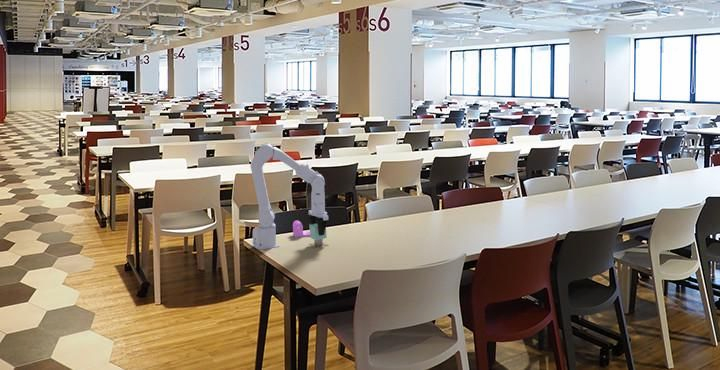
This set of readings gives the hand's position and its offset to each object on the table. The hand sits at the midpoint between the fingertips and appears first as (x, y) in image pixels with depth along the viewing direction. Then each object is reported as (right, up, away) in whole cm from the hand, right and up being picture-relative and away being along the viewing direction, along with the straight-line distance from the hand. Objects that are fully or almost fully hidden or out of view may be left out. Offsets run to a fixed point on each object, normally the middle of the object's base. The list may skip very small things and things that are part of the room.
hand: (318, 233), depth 272 cm
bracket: (-6, -3, +19) cm, 20 cm away
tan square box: (0, -5, +1) cm, 5 cm away
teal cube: (0, -2, 0) cm, 2 cm away
